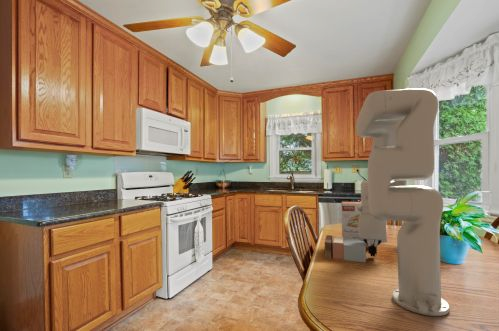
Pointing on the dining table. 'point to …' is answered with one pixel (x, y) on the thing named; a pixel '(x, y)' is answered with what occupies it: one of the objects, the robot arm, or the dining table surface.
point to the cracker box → (351, 220)
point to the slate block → (354, 250)
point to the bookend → (328, 246)
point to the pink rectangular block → (338, 247)
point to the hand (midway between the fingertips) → (372, 255)
